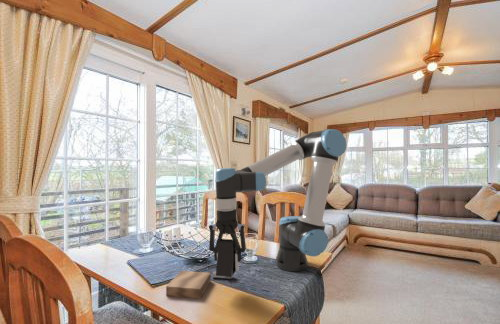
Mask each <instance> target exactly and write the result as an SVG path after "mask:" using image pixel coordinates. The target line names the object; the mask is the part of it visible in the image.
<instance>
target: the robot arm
mask: <svg viewBox="0 0 500 324" xmlns="http://www.w3.org/2000/svg"><path fill="white" fill-rule="evenodd" d="M347 145H348V144H347V139H346V137H345V135H344V134H343V132H342V131H340V130H338V129H335V128H332V129H330V128H325V129H324V130H322V129H321V130H319V131H318V130H317V131H312V132H309V133H307V134H305V135H303V136H301V137H300V138H298V139H296V140H294V141H292V142H291V143H290V145H289V146H286V147H285V148H282V149H280V150H277V151H276V152H274V153H272V154H270V155H268V156H265V157H264V158H262V159H259V160H257V161H256V162H254V163H252V164H250V165H248V166H245V167H243V168H241V169H237V170H236V168H234V167H222V168H221V167H220V168H217V169H216V171H215V192H216V194H215V195H216V196H215V197H216V199H215V200H216V202H215V203H216V205H215V206H216V209H217V210H216V221H215V222H216V223H210V225H208V228H209V245H208V247H209V249H208V250H209V251H210V252H213V254H214V261H215V262H217V257H218V241H221V239H223V237H224V235H230V237H231V240H233V241H234V245H235V248H236V253H235V267H236V272H238V271H239V269H240V262H241V261H242V253H245V251H246V250H247V245H246V236H245V235H246V234H245V226H246V225H245V223H242V224H241V223H239V222H238V218H237V217H238V216H237V215H238V214H237V212H238V211H237V193H246V192H248V193H249V192H260V191H264V190H265V188H266V186H267V177H266V176H268V175H270V174H272V173H274V172H276V171H278V170H281V169H282V168H284V167H286V166H287V165H289V164H291V163H293V162H296V161H298V160H299V161H303V160H305V159H307V158H310V159H311V161H312V165H311V166H312V167H311V171H310V176H309V181H308V184H307V185H308V186H307V191H306V196H305V201H304V207H303V211H302V215H301V216H299V215H291V216H290V215H288V216H282V217H281V218H279V223H278V227H279V237H278V238H279V242H278V243H279V244H278V245H279V247H278V248H279V249H278V251H277V254H276V258H275V266H276V267H277V268H278V269H280V270H283V271H286V272H302V271H304V270H306V269H307V268H308V266H309V264H308V258H307V256H308V257H317V256H319V255H322V254H323V253H324V252H325V251H326V249H327V247H328V245H329V236H328V235H327V233H326V232H325V229H326V224H325V222H324V214H325V208H326V204H327V199H328V194H329V188H330V183H331V179H332V174H333V173H332V172H333V169H334V168H333V167H334V166H335V165H336V164H337V163H338V161H339V158H340V157H341V156H342V155H343V154H344V153H345V152H346V149H347V147H348V146H347ZM216 229H217V230H219V233H218V237H217V238H216ZM236 229H238V231H239V238H240V241H239V240H238V236H237V232H236ZM215 239H217V240H216V244H215Z"/></svg>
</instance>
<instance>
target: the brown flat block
mask: <svg viewBox="0 0 500 324" xmlns="http://www.w3.org/2000/svg"><path fill="white" fill-rule="evenodd" d="M211 278H212V274H211V272H203V271H189V270H188V271H187V270H180V271H179V272H178V273H177V274H176V275H175V277H173V278H172V279H171V280H170V281H169V283H167V285H166V286H165V294H166V297H176V298H189V299H200V298H202V296H203V294H204V293H205V291H206V290H207V288H208V287H209V284H210V283H211Z"/></svg>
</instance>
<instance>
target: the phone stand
mask: <svg viewBox="0 0 500 324" xmlns="http://www.w3.org/2000/svg"><path fill="white" fill-rule="evenodd" d="M235 253H236V248H235V245H234V241H233V240H232V239H226V238H222V239H221V241H218V257H217V261H216V269H215V270H216V271H215V272H216V276H224V277H232V278H233V276H234V275H235V274H236V272H237V271H236V267H235Z"/></svg>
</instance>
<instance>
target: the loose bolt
mask: <svg viewBox="0 0 500 324" xmlns="http://www.w3.org/2000/svg"><path fill="white" fill-rule="evenodd" d="M211 278H214V279H226V280H232V278H233V276H232V277H224V276H216V271H212V274H211Z"/></svg>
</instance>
